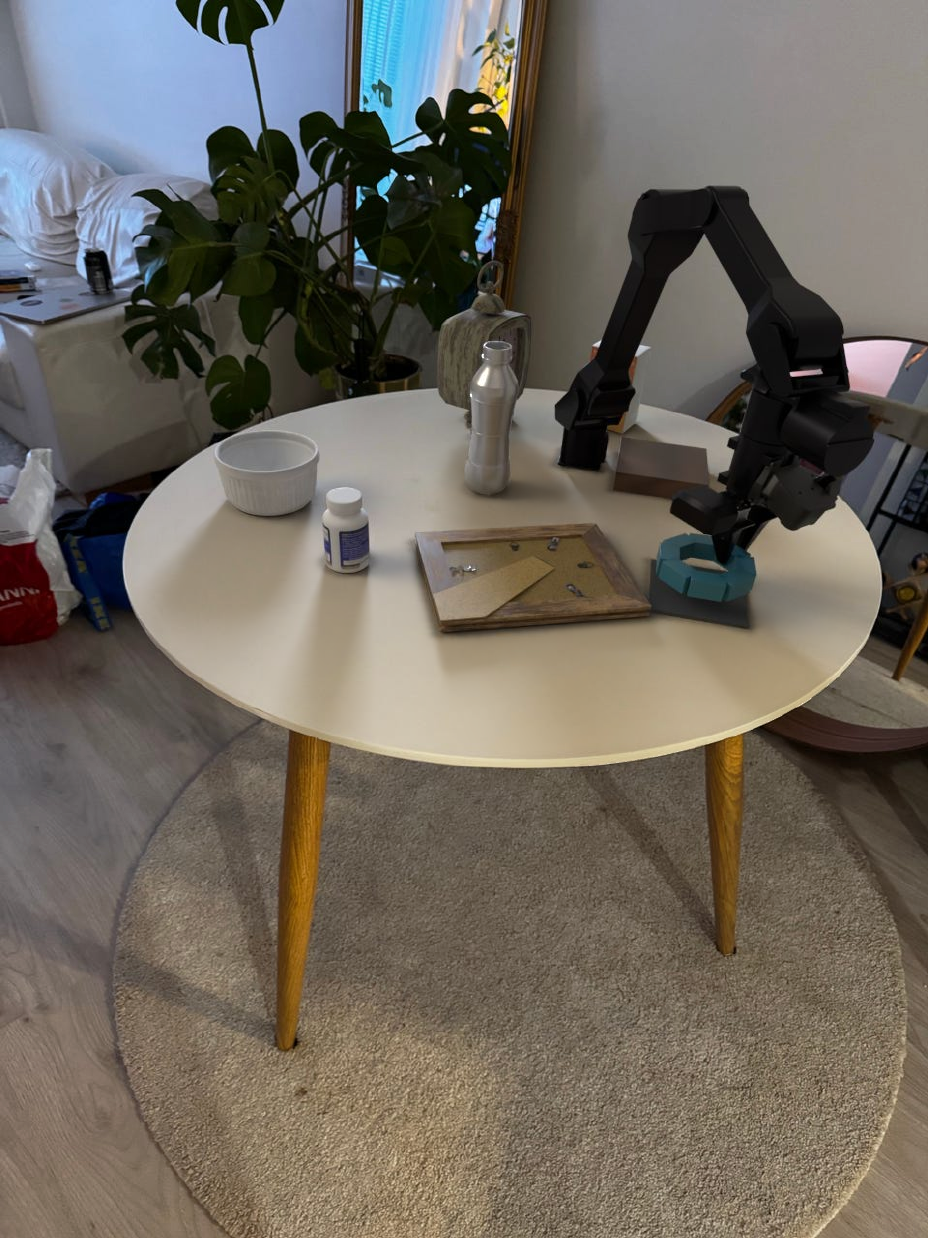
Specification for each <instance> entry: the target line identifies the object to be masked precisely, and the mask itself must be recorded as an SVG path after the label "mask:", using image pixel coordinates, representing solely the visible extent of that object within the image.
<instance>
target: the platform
mask: <svg viewBox="0 0 928 1238" xmlns="http://www.w3.org/2000/svg"><path fill="white" fill-rule="evenodd" d="M707 451H708V449H707V448H706V447H699V446H691V445H684V444H676V443H671V442H670V443H669V442H663V441H656V440H648V439H642V438H635V437H626V436H621V437H620V441H619V447H618V452H617V457H616V464H615V470H614V476H613V483H612V491H614V492H621V493H628V494H634V495H638V496H639V495H640V496H647V497H654V498H660V499H665V500H666V499H667V500H672V499H673V495H674V494H676V493H678V492H680V491H682V490H685V489H689V488H692V487H696V486H699V485H703V484H704V485H706V486H707V487H709V488H710V475H709V464H708V452H707Z"/></svg>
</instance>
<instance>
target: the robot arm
mask: <svg viewBox="0 0 928 1238" xmlns="http://www.w3.org/2000/svg"><path fill="white" fill-rule="evenodd" d="M704 236H705V238H706V239H707V241H708V243H709V245H710V247H711V248H712V250H713V252H714V254H715V256H716V258H717V259H718V261H719V263H720V265H721V266H722V268H723V269H724V272H725V273H726V275H727V277H728V279H729V281H730V282H731V285H733V287H734V289H735V291H736V292H737V295H738V296H739V298H740V300H741V301H742V303H743V305H744V306H745V309H746V312H747V322H746V327H745V328H746V329H745V335H746V338H747V340H748V344H749V346H750V348H751V352H752V355H753V357H754V360H755V362H756V363H755V364H754V365H752V366H750V367H748V368H746V369H744V370H742V371H741V372H740V374H739V377H740V378H741V380H743V381H745V382H746V383H749V384H751V385H752V386H751V391H750V395H749V398H748V402H747V405H746V409H745V411H744V416H743V419H742V422H741V425H740V429H739V432H738V435H734V436H731V437H728V441H727V444H726V448H729V449H731V450H733V453H732V457H731V460H730V464H729V467H728V470H727V469H726V470H724V471H721V472H718V476H717V479H716V482H718V483H719V484H721V485H724V486H725V490H721V491H717V490H715V489H712V488H711V487H710V486H709V487H707V486H706V485H704V484H703V485H699V486H696V487H692V488H689V489H685V490H682V491H680V492H678V493H676V494H674V495H673V499H671V503H670V507H669V514H671V515H672V516H673V517H675V518H677V519H678V520H680V521H681V522H683V523H685V524H686V525H688V526H690V527H691V528H693V529H694V530H696V531H697V532H699V533H700V534H702V535H709V536H711V537H712V541H713V546H714V550H715V554H716V558H717V561H718V562H719V563H721V564H722V565H725V564H726V563H727V561H728V560H729V558H730V556H731V554H732V551H733V549H734V547H735V544H736V545H737V546H739V547H741V548H742V549H744V550H746V551H747V552H748V550H749V549H750V547H751V546H752V545H753V544H754V542H755V541H756V539H757V538H758V537H759V535H761V533H762V532H763V530H764V529H765V528H766V526H767V525H768V524H769V523H771V521H772V520H773V521H774V520H776V519H779V521H780V524H781V525H782V527H784V528H785V529H786V530H788V531H791V532H797V531H799V530H800V529H802V528H805V527H807V526H813V525H815V524H816V523H817V521H819V519H820V518H822V516H823V515H824V514H825V513H826V512H828V511H830V510H834V509H835V508H836V506H837V503H836V502H837V501H838V499H839V498H838V496H839V494H840V491H841V486H842V482H843V480H842V479H841V478H840V477H843V476H845V475H848V474H850V473H851V472H853V471H854V470H856V469H857V468H858V467H859V466H860V465H861V464H862V463H863V462H864V461H865V459H866V458H867V457H868V455H869V454H870V452H871V450H872V448H873V446H874V443H875V439H874V435H875V431H874V425H873V423H872V422H871V421H870V420H869V419H868V416H869V414H870V411H871V405H869V404H867V403H865V402H863V401H860V400H855V399H851V398H850V397H848V396H845V395H843V394H841V393H847V392H849V391H850V389H851V383H850V377H849V373H850V371H849V368H848V363H847V358H846V352H845V346H844V345H845V344H844V338H843V335H844V334H845V329H844V324H843V322H842V319H841V317H840V315H839V314H838V313H837V312H836V311H835V310H834V309H833V307H831V306H830V304H829V303H828V302H827V301H826V300H825V299H824V298H823V297H822V296H821V295H819V294H818V293H816V292H814V291H813V290H811V289H809V288H807V287H806V286H804V285H802V284H800V283H799V282H798V280H797V279H795V277H794V276H793V274H792V273H791V271H790V270H789V268H788V266H787V264H786V262H785V261H784V259H783V258H782V256H781V254H780V253H779V251H778V249H777V247H776V246H775V245H774V243H773V241H772V239H771V238H770V237H769V235H768V233H767V232H766V230H765V228H764V226H763V224H762V223H761V222H760V220H759V218H758V217H757V215H756V213H755V212H754V210H753V208H752V207H751V205H750V195H749V193H748V191H747V190H746V189H745V188H742V187H741V186H739V185H706V186H704V187H702V188H695V189H694V188H693V189H692V188H689V189H688V188H687V189H685V188H649V189H648V190H646V191H645V192H642V193H641V194H640V195H639V197H638V198H637V200H636V202H635V205H634V207H633V210H632V214H631V219H630V224H629V227H628V232H627V241H628V245H629V246H628V247H629V250H630V255H631V261H630V262H629V263H630V264H629V266H628V269H627V271H626V273H625V274H626V275H625V277H624V279H623V282H622V285H621V287H620V290H619V293H618V294H617V295H618V296H617V298H616V301H615V303H614V306H613V308H612V311H611V314H610V316H609V319H608V322H607V324H606V327H605V330H604V332H603V335H602V338H601V339H600V341H601V343H600V346H599V348H598V351H597V354H596V356H595V357H594V358H593V359H592V360H591V361H590V360H589V361H590V362H587V363H586V364H584V366H583V367H582V368H581V369H579V370H578V371H577V373H576V375H575V376H574V378H573V381H571V385H570V386H569V388H568V391H567V392H565V394H564V395H563V396H562V397H560V399H558V401H557V402H556V403H555V404H554V406H553V407H554V420H555V421H556V422H558V424H560V425H561V426H562V427H563V432H562V437H561V438H562V439H561V446H560V452H559V456H558V459H557V462H556V464H557V466H560V467H566V468H572V469H577V470H586V471H592V472H601V468H602V465H604V464H605V463H606V458H607V452H608V447H609V442H610V437H611V432H610V431H607V430H608V429H607V426H610V425H619V423H620V420H621V418H622V416H623V414H624V412H628V411H629V406H630V403H631V400H632V398H633V397H634V395H635V394H636V390H635V388H634V387H633V386H632V383H631V379H630V375H629V369H630V366H631V364H632V362H633V359H634V357H635V355H636V352H637V350H638V348H639V345H641V343H642V340H643V338H644V335H645V333H646V331H647V329H648V327H649V324H650V322H651V320H652V317H653V315H654V312H655V310H656V308H657V306H658V303H659V301H660V299H661V295H662V293H663V292H664V289H665V287H666V285H667V282H668V280H669V277H670V275H671V274H672V273H673V272H675V270H677V269H678V268H679V267H680V266H681V265H683V263H685V262H686V261H687V260H689V259H690V257H691V256H692V255H693V253H694V252H695V250H696V249H697V247H698V245H699V244H700V242H701V240H702V239H703V237H704ZM818 370H820V371H821V373H816V374H805V375H795V376H793V375H791V373H798V372H809V371H818ZM802 460H803V461H805V462H807V463H808V464H810V465H812V466H813V467H815V468H817V469H818V470H820V471H822V472H824V474H820V473H817V472H816V471H813V470H812V469H809V468H807V467H806V466H803V465H801V462H802Z"/></svg>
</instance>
